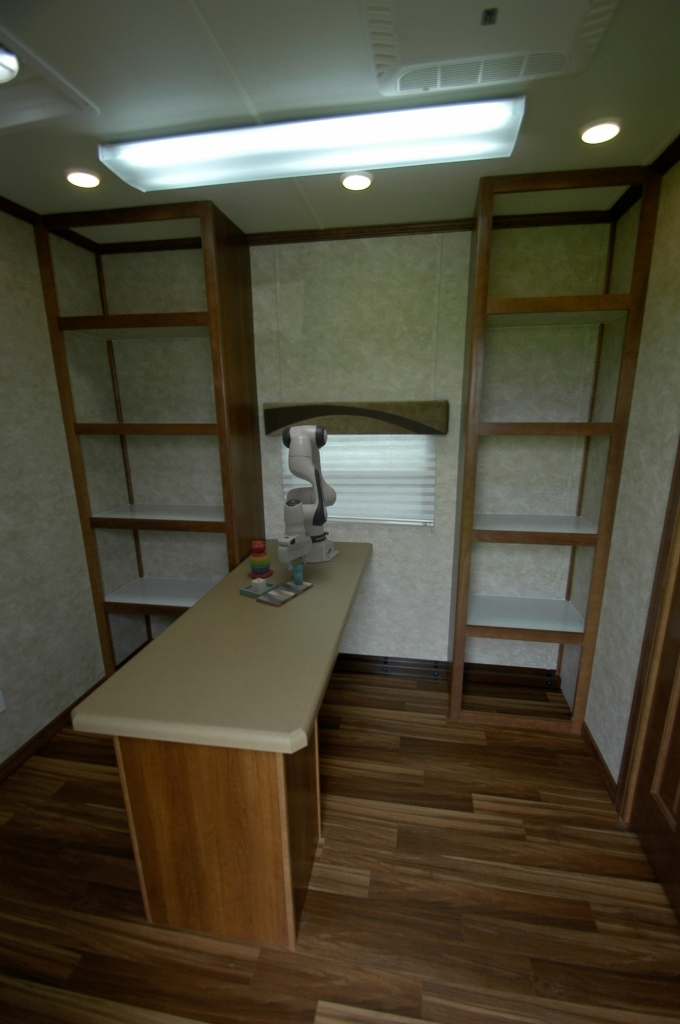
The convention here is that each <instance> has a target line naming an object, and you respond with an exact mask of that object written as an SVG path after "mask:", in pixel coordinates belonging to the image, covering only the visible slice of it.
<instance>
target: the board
mask: <svg viewBox="0 0 680 1024" xmlns="http://www.w3.org/2000/svg"><path fill="white" fill-rule="evenodd" d="M312 588H314V584H313V583H311V582H307V581H303V584H302V585H295V584H294V578H292V579H291V580H289V581H287V582H284V583H283V584H281V585H280V586H279V585H278V587H277V588H276V589H274V590H272V591H270V592H268V593H266V594H264V595H262V596H261V597H259V598H257V599H256V598H255V600H256V602H258V603H261V604H264V605H268V606H272V607H276V608H280V607H281V605H282V606H283V605H285V604H286V603H288V602H290V601H292V600H293V599H296V598H297V597H298V596H300V595H302V594H304V593H305V592H306V591H308V589H309V590H310V589H312Z"/></svg>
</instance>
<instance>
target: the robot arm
mask: <svg viewBox="0 0 680 1024" xmlns="http://www.w3.org/2000/svg"><path fill="white" fill-rule="evenodd" d="M281 440H282V444H283V446H284V447H286V448H287V449H288V454H287V455H288V457H287V459H288V460H287V461H288V462H287V464H288V470H289V472H290V473H291V474H292V475H293V476H295V477H296V478H298V479H301V480H304V481H306V482H308V483H310V485H311V486H309V487H308V486H305V487H295V488H291V489H289V490H288V493H287V495H286V501H285V502H284V506H283V507H284V508H283V519H284V520H283V521H284V524H285V526H284V527H285V529H284V533H283V534H282V536H280V538H278V540H277V545H278V547H277V556H278V561H279V562H280V563H282V564H285V565H286V567H287V570H288V571H292V570H293V566H294V565H292V561H294V560H296V559H298V558H301V561H300V562H301V563H300V564H301V565H305V564H307V563H313V564H315V563H316V564H317V563H323V562H325V563H326V562H330V561H331V560H332V559H334V558H335V557H336V556H338V554H340V551H339V550H338V549H335V543H334V542H333V541H331V540H330V539H328V538H327V536H329V534H330V533H329V531H324V527H325V526H324V525H325V524H326V522H327V521H328V515H329V514H328V510H327V507H332V506H333V505H334V504H335V503H336V501H337V493H336V491H335V489H334V488H333V487H332V486H330V485H329V484H328V483H327V482H326V481H325V479H324V477H323V473H322V465H321V455H320V454H321V453H320V449H322V448H323V447H324V446H326V445H327V441H328V433H327V430H326V427H324V426H323V425H313V424H312V425H310V424H309V425H308V424H305V425H304V424H303V425H297V426H296V425H295V426H287V427H285V428H284V429H283V431H282V433H281Z"/></svg>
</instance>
